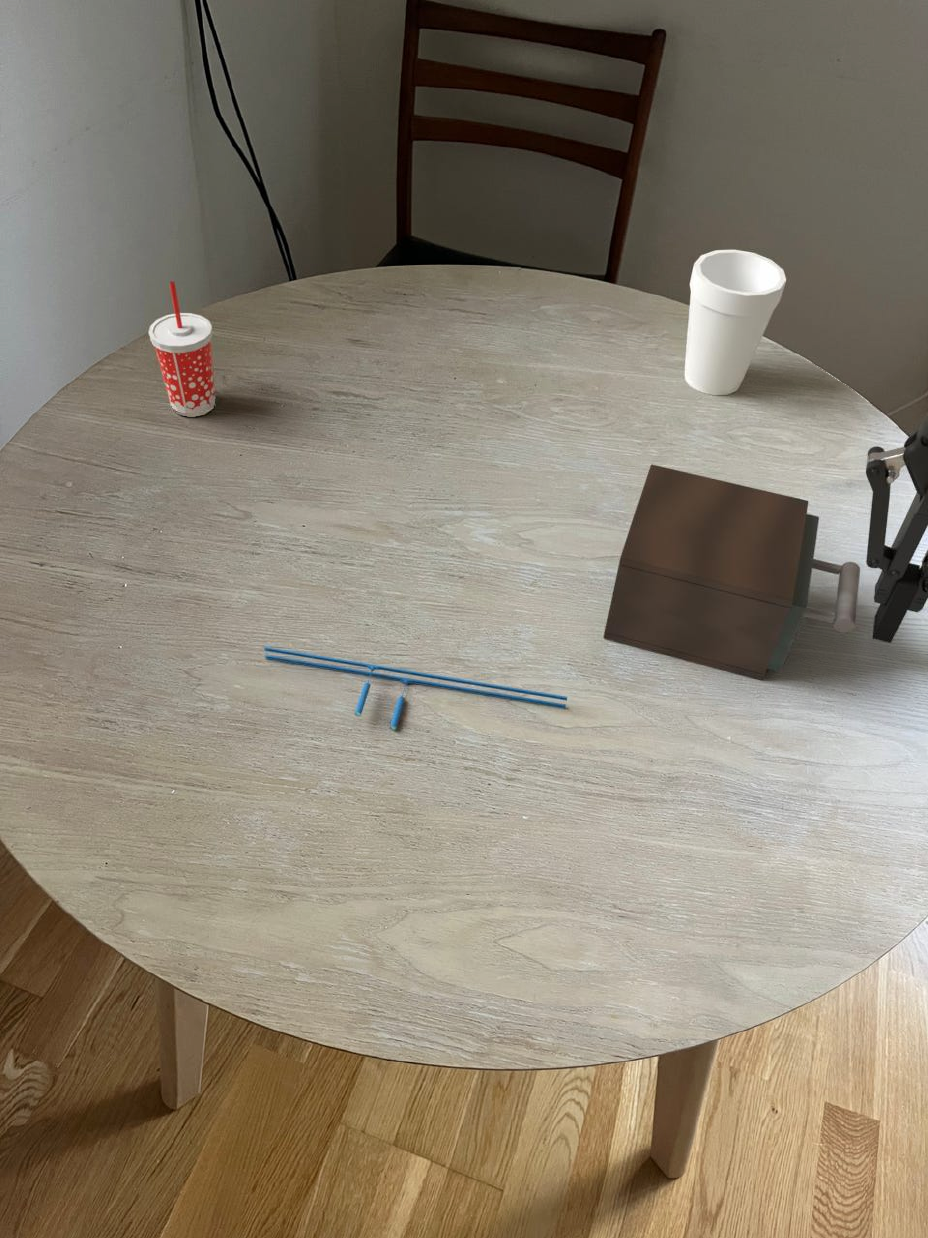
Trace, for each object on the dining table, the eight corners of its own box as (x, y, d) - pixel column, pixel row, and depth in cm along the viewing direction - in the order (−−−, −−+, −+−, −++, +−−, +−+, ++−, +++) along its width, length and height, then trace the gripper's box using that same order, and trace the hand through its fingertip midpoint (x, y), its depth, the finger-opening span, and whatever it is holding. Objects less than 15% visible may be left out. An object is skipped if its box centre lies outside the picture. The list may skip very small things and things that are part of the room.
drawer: (843, 593, 93) (872, 528, 87) (833, 686, 85) (864, 622, 80) (657, 547, 96) (673, 482, 90) (632, 633, 88) (648, 567, 83)
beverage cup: (230, 391, 111) (213, 269, 101) (213, 425, 107) (193, 302, 97) (174, 384, 112) (151, 263, 101) (155, 418, 107) (129, 294, 97)
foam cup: (655, 363, 118) (677, 256, 109) (724, 349, 121) (751, 243, 112) (699, 410, 112) (726, 301, 103) (770, 394, 115) (803, 286, 106)
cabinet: (778, 580, 95) (808, 500, 88) (761, 680, 87) (793, 600, 80) (633, 544, 97) (651, 463, 90) (603, 638, 89) (620, 557, 82)
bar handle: (560, 746, 79) (567, 695, 83) (244, 693, 81) (264, 646, 85) (558, 758, 80) (565, 707, 84) (245, 705, 82) (266, 658, 86)
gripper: (896, 402, 69) (799, 640, 86) (1107, 446, 66) (963, 682, 83) (901, 344, 74) (808, 580, 91) (1097, 383, 71) (963, 618, 88)
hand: (882, 629), depth 87 cm, fingers closed
